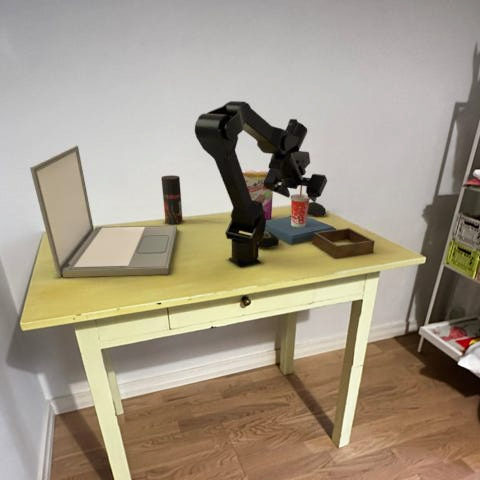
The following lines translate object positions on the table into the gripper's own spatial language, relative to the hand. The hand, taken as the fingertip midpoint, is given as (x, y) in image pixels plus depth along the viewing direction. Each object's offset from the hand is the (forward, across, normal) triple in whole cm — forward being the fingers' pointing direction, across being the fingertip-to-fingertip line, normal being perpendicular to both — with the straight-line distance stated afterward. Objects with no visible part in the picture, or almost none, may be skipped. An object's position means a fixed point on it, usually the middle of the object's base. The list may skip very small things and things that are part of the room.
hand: (302, 198), depth 125 cm
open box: (+3, -17, +12) cm, 21 cm away
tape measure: (-5, +2, +20) cm, 21 cm away
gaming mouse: (+24, +7, -8) cm, 26 cm away
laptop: (-24, +32, +40) cm, 56 cm away
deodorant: (-4, +40, +19) cm, 45 cm away
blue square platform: (+7, +1, +8) cm, 11 cm away
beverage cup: (+5, 0, +7) cm, 8 cm away
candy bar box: (+10, +19, +6) cm, 22 cm away
